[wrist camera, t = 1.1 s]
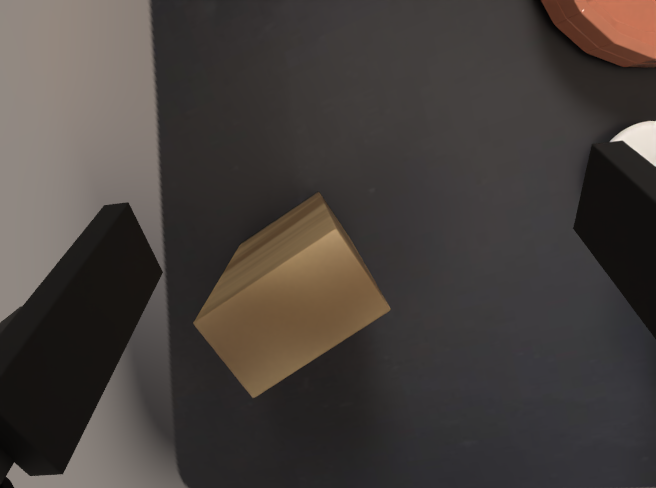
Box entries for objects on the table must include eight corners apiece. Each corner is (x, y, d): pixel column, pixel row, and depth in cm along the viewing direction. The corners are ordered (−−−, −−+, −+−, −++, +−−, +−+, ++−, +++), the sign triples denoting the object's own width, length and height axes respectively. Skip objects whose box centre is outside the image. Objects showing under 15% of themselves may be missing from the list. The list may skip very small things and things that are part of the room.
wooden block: (240, 243, 28) (192, 323, 15) (318, 191, 28) (336, 227, 15) (272, 288, 29) (253, 399, 16) (349, 237, 28) (391, 310, 16)
